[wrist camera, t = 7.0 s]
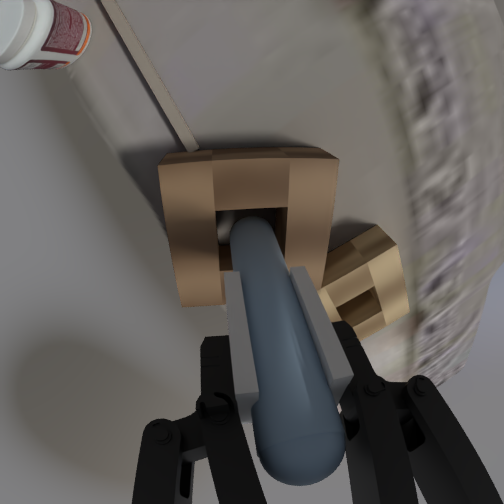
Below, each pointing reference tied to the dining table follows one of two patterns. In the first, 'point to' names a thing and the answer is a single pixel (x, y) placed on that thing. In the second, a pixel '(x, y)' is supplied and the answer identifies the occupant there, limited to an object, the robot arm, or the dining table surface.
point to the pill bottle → (41, 34)
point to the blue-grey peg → (284, 365)
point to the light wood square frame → (365, 283)
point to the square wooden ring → (245, 197)
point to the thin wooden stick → (151, 75)
